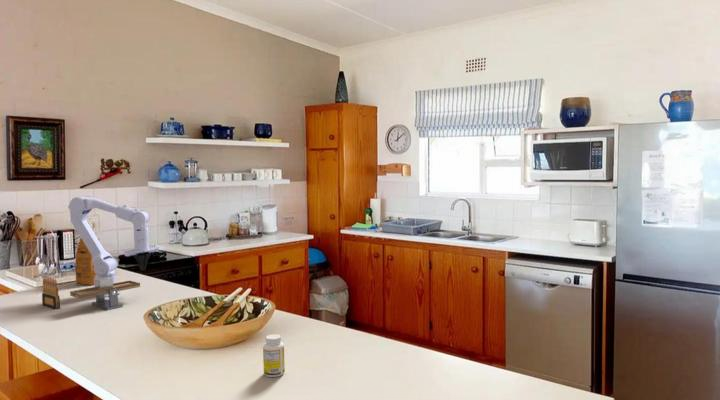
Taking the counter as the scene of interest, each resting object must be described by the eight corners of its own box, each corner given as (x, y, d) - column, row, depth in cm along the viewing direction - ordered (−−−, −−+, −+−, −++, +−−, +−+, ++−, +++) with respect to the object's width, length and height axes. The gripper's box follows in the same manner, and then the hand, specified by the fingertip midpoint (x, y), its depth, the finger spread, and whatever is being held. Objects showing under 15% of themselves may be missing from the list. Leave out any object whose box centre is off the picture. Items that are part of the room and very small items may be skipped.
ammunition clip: (42, 305, 210) (40, 276, 209) (47, 304, 212) (45, 275, 211) (55, 309, 204) (53, 279, 203) (60, 308, 206) (58, 278, 205)
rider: (95, 289, 207) (94, 279, 207) (107, 286, 211) (107, 277, 211) (100, 290, 205) (100, 280, 204) (113, 288, 209) (112, 278, 208)
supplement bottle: (275, 368, 144) (274, 331, 143) (289, 373, 140) (288, 336, 140) (259, 374, 140) (258, 337, 139) (273, 379, 136) (272, 341, 135)
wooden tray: (69, 297, 202) (69, 291, 201) (129, 285, 220) (129, 280, 220) (80, 301, 196) (80, 294, 196) (140, 288, 215) (140, 283, 215)
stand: (91, 304, 210) (90, 286, 210) (106, 301, 215) (105, 283, 214) (107, 310, 202) (106, 291, 202) (122, 306, 207) (121, 288, 206)
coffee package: (90, 279, 256) (88, 235, 255) (108, 281, 251) (106, 236, 250) (71, 284, 247) (69, 238, 246) (89, 286, 242) (87, 239, 241)
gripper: (130, 242, 217) (131, 274, 218) (161, 237, 229) (163, 268, 230) (121, 240, 222) (122, 272, 223) (153, 236, 233) (154, 266, 234)
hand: (142, 270), depth 226 cm, fingers closed
